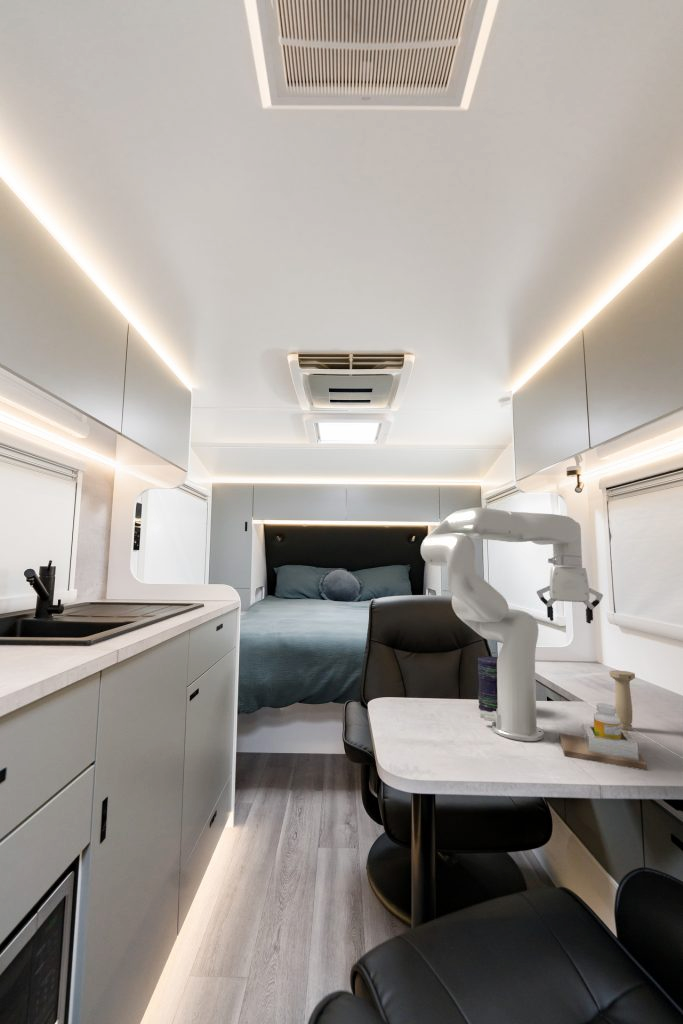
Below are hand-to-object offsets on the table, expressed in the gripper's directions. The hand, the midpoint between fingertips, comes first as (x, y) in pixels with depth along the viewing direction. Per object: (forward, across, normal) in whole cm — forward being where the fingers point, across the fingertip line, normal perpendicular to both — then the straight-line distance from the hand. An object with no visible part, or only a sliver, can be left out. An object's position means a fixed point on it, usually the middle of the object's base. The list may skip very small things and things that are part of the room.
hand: (569, 621), depth 124 cm
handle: (+28, +13, +3) cm, 31 cm away
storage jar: (+28, -21, +3) cm, 36 cm away
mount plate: (+28, +3, -20) cm, 35 cm away
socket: (+27, +5, -20) cm, 34 cm away
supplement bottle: (+27, +5, -20) cm, 34 cm away
